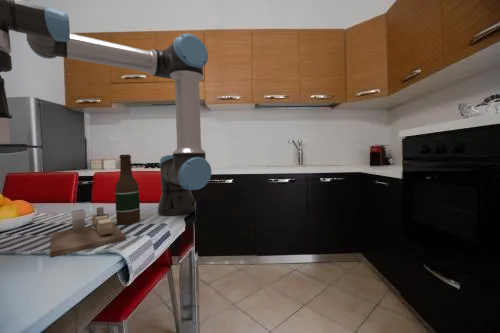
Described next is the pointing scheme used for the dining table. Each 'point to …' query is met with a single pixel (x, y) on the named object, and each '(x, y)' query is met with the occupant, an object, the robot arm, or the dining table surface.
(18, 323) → the dining table surface
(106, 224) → the link
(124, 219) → the beer bottle
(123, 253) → the dining table surface
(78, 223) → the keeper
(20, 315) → the dining table surface
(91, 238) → the base plate
